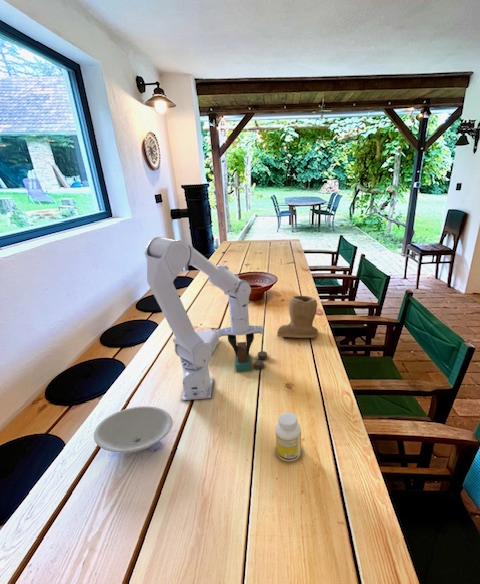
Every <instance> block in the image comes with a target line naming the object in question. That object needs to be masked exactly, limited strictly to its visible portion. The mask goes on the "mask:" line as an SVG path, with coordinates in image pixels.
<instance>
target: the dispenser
mask: <svg viewBox="0 0 480 584" xmlns="http://www.w3.org/2000/svg"><path fill="white" fill-rule="evenodd" d="M195 332H196V333H197V334H198V335H199V336H200V338H201V339H202V340H203V341H204V343H205V345H207V346H208V347H209V348H210V349H211V352H212V354H213V353H214V351H215V349H216V348H217V346H218V344H219V342H220V337H218V334H217V330H215V328H213V329H211V328H209V329H208V328H207V329H204V330H195Z"/></svg>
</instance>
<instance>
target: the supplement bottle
mask: <svg viewBox="0 0 480 584" xmlns="http://www.w3.org/2000/svg"><path fill="white" fill-rule="evenodd" d="M275 439H276V440H275V443H276V453H277V457H279V459H281V460H282V461H285V462H294V461H296V460H297V459H299V458H300V457H301V454H302V427H301V426H300V424H299V423H298V416H297V415H296V414H295V413H293V412H288V411H287V412H286V411H285V412H282V413H281V414H279V416H278V423H277V424H276V427H275Z"/></svg>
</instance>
